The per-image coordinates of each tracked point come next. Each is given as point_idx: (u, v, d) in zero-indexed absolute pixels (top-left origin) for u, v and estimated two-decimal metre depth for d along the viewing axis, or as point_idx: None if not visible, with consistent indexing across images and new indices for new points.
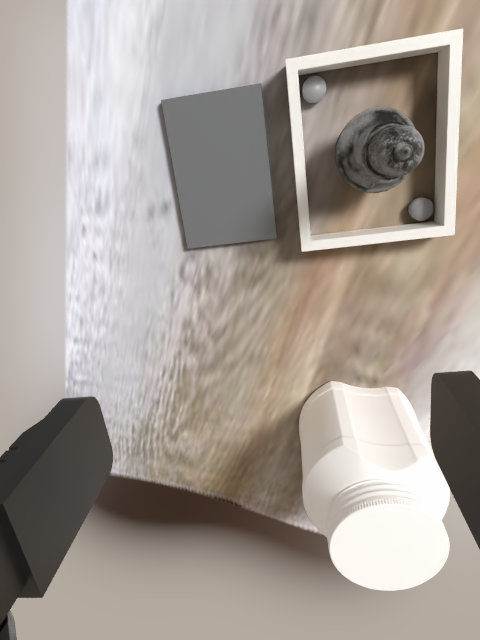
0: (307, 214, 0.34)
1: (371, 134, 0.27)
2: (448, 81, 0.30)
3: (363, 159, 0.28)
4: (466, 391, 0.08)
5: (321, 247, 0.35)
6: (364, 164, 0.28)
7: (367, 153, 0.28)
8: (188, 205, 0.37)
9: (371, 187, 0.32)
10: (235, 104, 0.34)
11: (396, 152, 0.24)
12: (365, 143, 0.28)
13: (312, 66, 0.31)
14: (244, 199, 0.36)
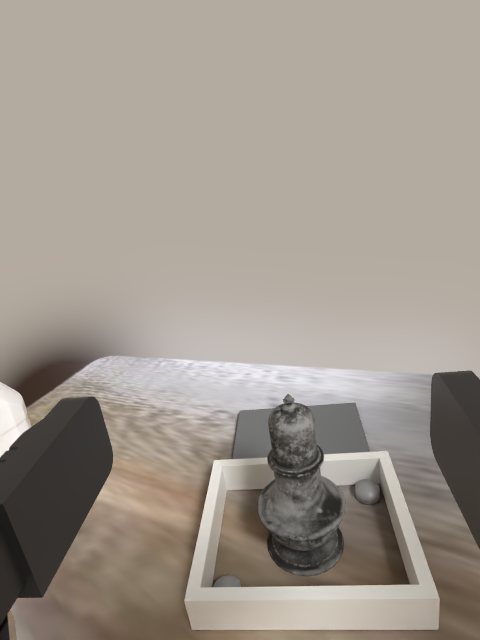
0: (248, 464, 0.35)
1: None
2: (377, 587, 0.24)
3: None
4: (466, 391, 0.08)
5: (213, 473, 0.34)
6: None
7: None
8: None
9: (264, 497, 0.30)
10: (352, 439, 0.39)
11: None
12: None
13: (383, 467, 0.32)
14: None
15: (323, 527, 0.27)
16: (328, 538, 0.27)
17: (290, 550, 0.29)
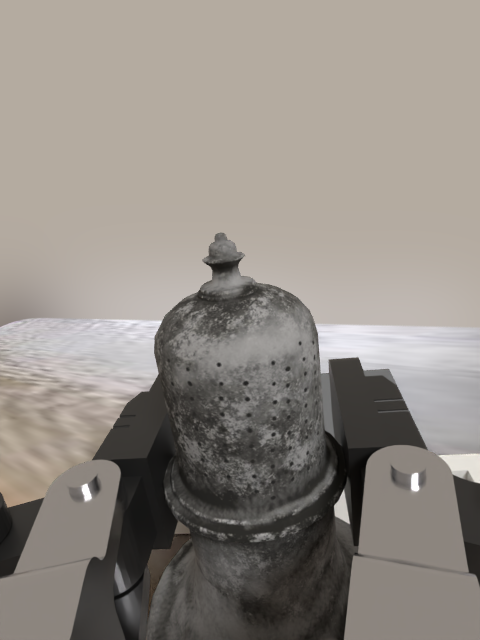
0: None
1: None
2: None
3: None
4: (345, 374, 0.10)
5: None
6: None
7: None
8: None
9: (173, 577, 0.11)
10: None
11: None
12: None
13: None
14: None
15: None
16: None
17: None
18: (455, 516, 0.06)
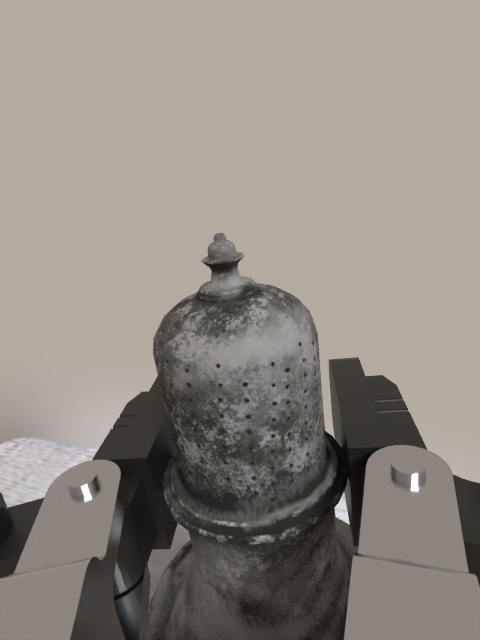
0: None
1: None
2: None
3: None
4: (345, 374, 0.10)
5: None
6: None
7: None
8: None
9: (173, 578, 0.11)
10: None
11: None
12: None
13: None
14: None
15: None
16: None
17: None
18: (455, 516, 0.06)
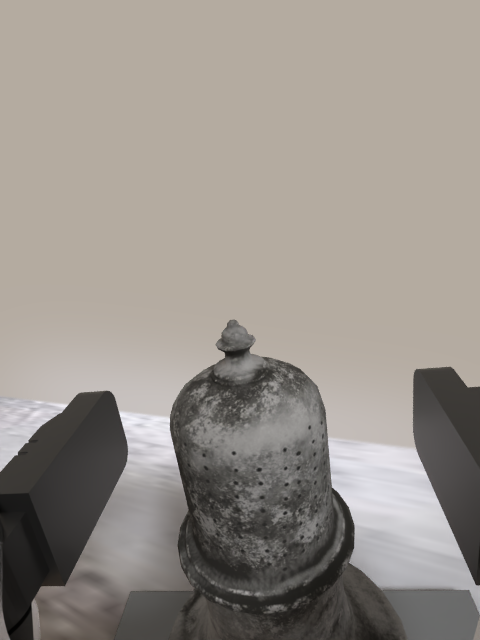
0: None
1: None
2: None
3: None
4: (444, 386, 0.09)
5: None
6: None
7: None
8: None
9: (186, 624, 0.11)
10: None
11: None
12: None
13: None
14: None
15: None
16: None
17: None
18: None
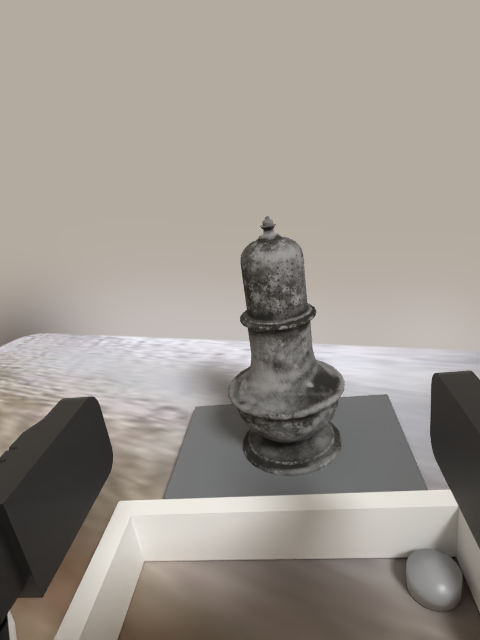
0: (183, 511, 0.17)
1: None
2: None
3: None
4: (466, 391, 0.08)
5: (108, 532, 0.16)
6: None
7: None
8: None
9: (237, 380, 0.23)
10: (389, 458, 0.21)
11: None
12: None
13: None
14: (242, 463, 0.22)
15: (314, 403, 0.20)
16: (321, 422, 0.20)
17: (271, 448, 0.22)
18: None
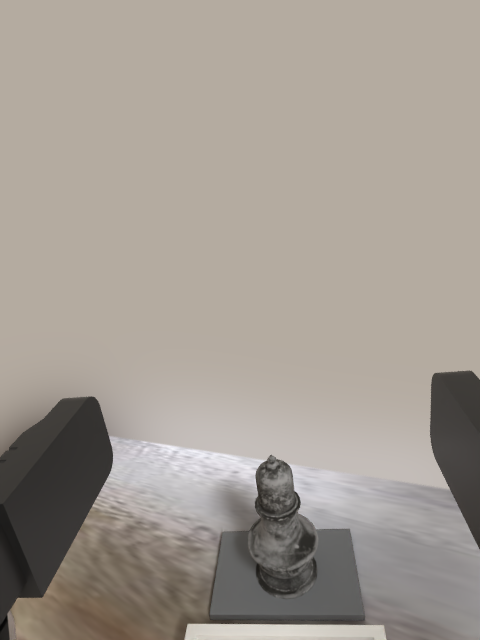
0: (225, 634, 0.31)
1: None
2: None
3: None
4: (466, 391, 0.08)
5: None
6: None
7: None
8: None
9: (252, 533, 0.36)
10: (345, 588, 0.35)
11: None
12: None
13: None
14: (256, 586, 0.36)
15: (299, 560, 0.33)
16: (303, 569, 0.34)
17: (274, 577, 0.36)
18: None
